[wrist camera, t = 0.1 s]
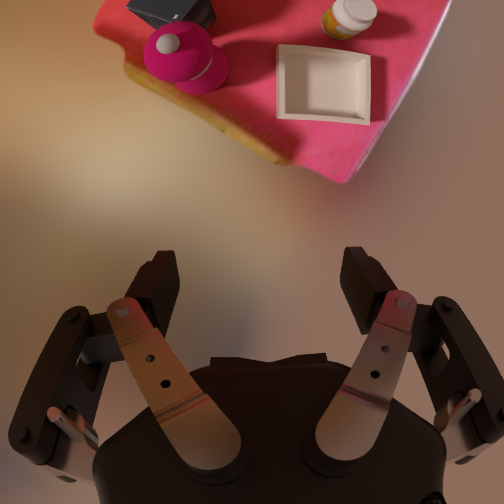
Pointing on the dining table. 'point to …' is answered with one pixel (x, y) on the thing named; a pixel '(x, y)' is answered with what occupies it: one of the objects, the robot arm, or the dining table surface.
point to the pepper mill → (186, 58)
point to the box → (173, 11)
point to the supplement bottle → (348, 18)
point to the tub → (322, 84)
